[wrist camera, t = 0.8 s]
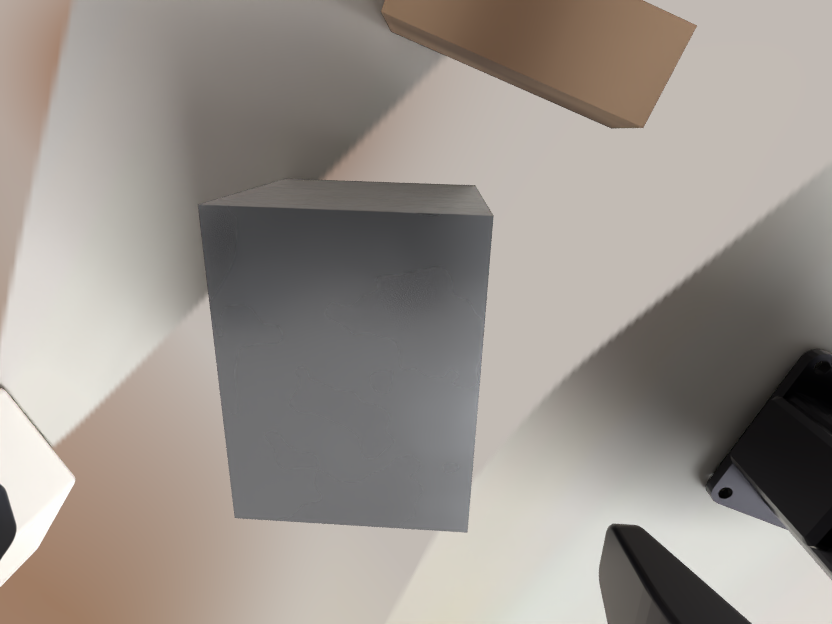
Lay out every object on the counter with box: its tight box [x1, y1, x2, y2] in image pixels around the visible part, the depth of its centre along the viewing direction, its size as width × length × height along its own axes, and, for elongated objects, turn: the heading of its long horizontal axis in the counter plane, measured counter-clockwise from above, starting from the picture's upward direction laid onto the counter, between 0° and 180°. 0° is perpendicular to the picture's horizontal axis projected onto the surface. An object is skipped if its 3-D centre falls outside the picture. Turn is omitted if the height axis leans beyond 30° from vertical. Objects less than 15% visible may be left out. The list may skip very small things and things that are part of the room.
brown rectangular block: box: [381, 0, 697, 128], centre depth 13 cm, size 7×2×2 cm, turn 68°
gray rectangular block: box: [198, 179, 493, 532], centre depth 14 cm, size 6×8×6 cm
